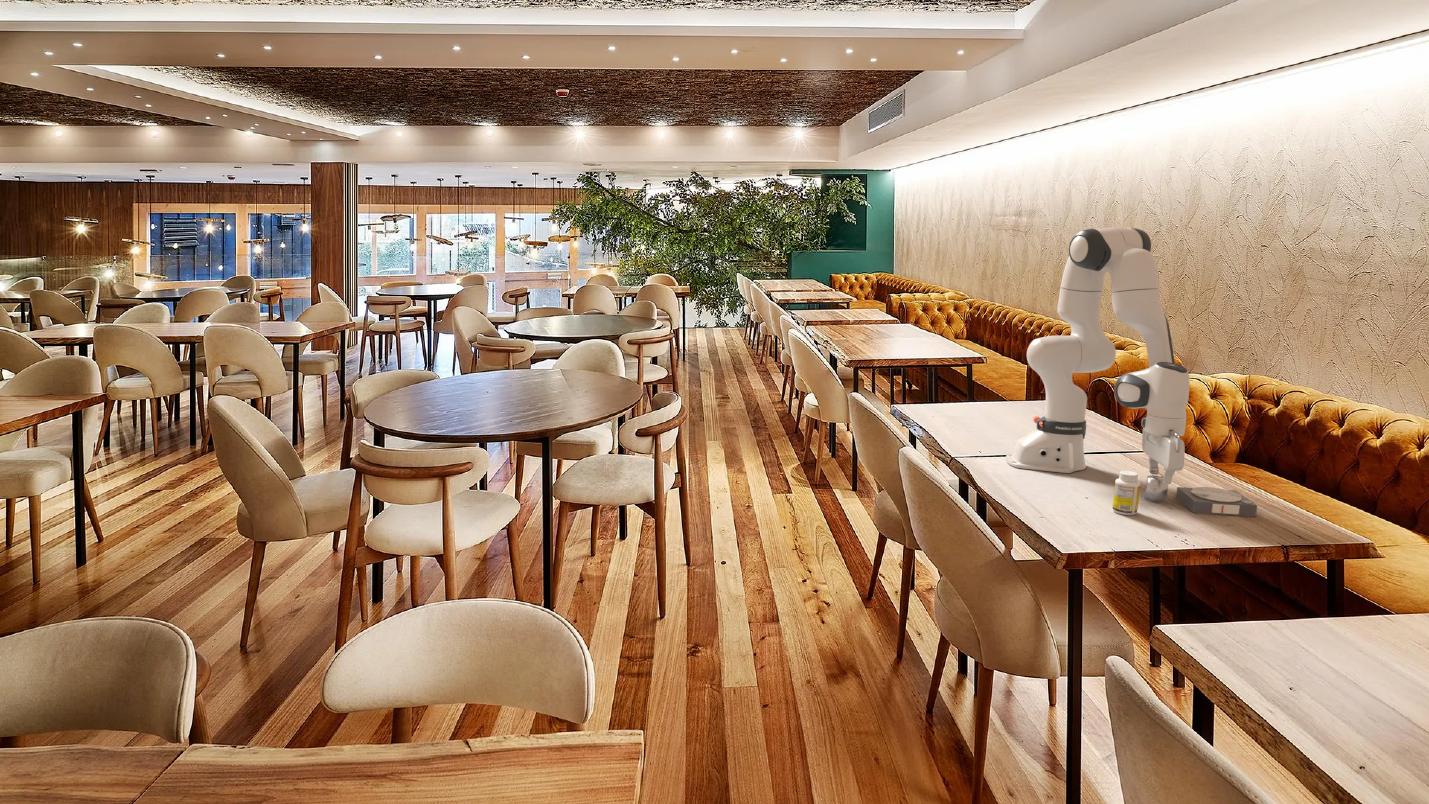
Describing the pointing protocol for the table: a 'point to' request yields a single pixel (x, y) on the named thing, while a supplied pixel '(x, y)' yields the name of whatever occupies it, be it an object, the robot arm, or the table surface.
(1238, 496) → the scale pan
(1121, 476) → the supplement bottle
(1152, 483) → the cylinder
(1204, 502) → the scale base
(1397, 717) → the table surface
